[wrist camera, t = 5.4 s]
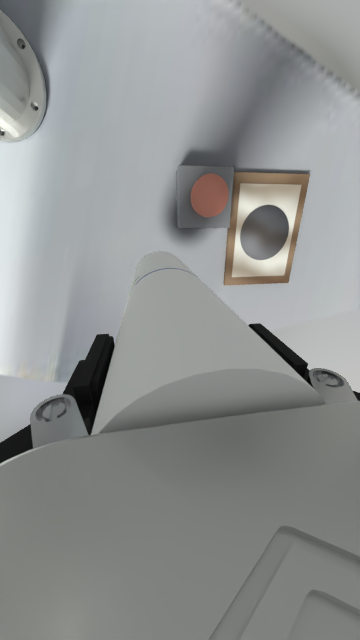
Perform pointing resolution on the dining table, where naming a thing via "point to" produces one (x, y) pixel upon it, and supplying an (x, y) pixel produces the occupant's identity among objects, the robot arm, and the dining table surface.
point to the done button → (209, 195)
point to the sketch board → (263, 227)
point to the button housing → (185, 183)
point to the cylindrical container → (189, 357)
